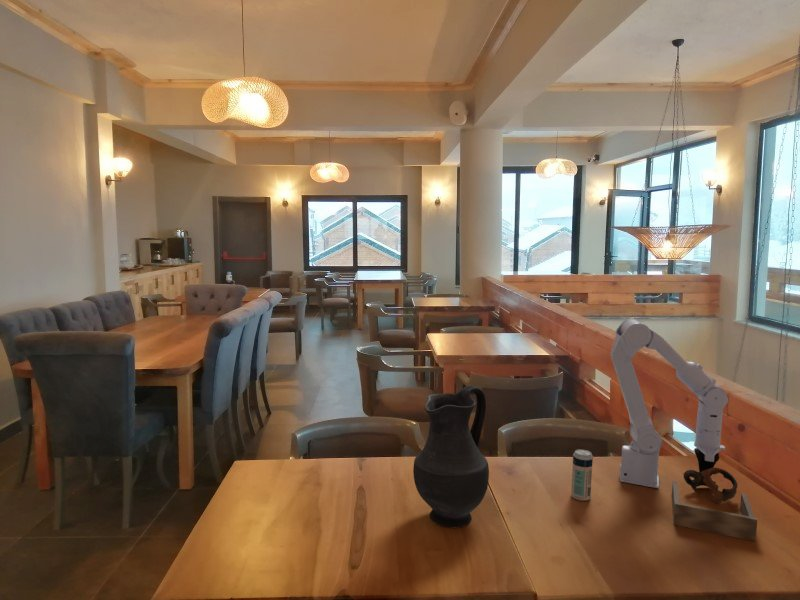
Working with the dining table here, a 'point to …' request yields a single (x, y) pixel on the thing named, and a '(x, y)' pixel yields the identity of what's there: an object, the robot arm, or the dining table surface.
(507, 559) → the dining table surface
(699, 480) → the brown hollow ring part
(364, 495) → the dining table surface
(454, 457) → the pitcher
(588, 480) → the supplement bottle
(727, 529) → the box
